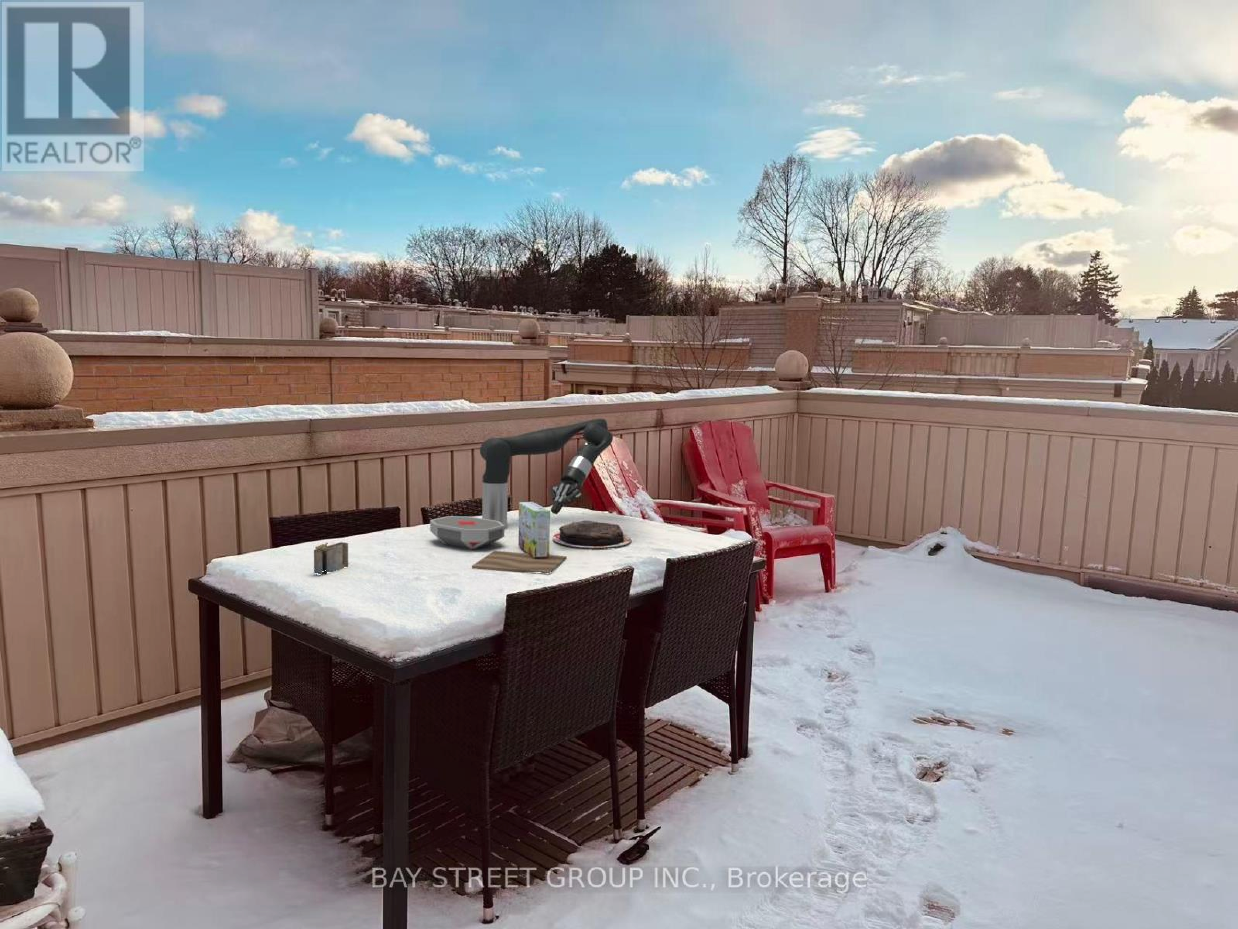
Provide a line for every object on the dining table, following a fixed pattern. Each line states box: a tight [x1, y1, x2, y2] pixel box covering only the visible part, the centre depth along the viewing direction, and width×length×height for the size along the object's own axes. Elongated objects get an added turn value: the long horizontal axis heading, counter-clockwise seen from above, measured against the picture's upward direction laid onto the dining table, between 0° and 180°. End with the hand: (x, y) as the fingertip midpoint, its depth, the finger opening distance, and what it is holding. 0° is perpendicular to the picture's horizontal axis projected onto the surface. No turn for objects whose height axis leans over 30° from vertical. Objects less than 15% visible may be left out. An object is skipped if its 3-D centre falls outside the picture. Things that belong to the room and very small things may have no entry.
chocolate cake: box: [551, 520, 632, 550], centre depth 279 cm, size 28×28×7 cm
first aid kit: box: [429, 515, 505, 550], centre depth 268 cm, size 18×8×25 cm
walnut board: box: [471, 550, 567, 573], centre depth 245 cm, size 20×24×1 cm
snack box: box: [518, 501, 551, 558], centre depth 257 cm, size 21×6×15 cm, turn 21°
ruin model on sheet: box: [313, 541, 349, 576], centre depth 229 cm, size 11×3×10 cm, turn 160°
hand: (553, 512), depth 263 cm, fingers closed
